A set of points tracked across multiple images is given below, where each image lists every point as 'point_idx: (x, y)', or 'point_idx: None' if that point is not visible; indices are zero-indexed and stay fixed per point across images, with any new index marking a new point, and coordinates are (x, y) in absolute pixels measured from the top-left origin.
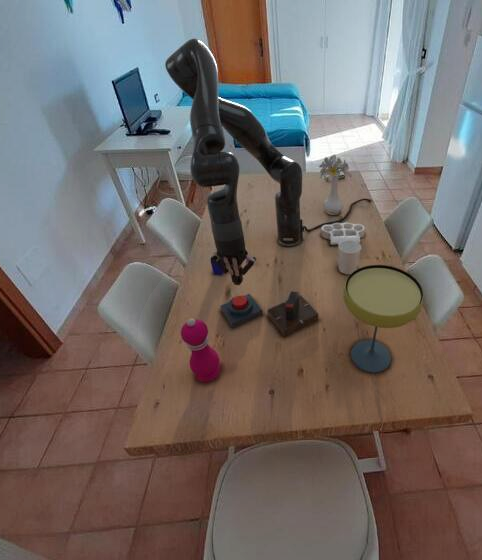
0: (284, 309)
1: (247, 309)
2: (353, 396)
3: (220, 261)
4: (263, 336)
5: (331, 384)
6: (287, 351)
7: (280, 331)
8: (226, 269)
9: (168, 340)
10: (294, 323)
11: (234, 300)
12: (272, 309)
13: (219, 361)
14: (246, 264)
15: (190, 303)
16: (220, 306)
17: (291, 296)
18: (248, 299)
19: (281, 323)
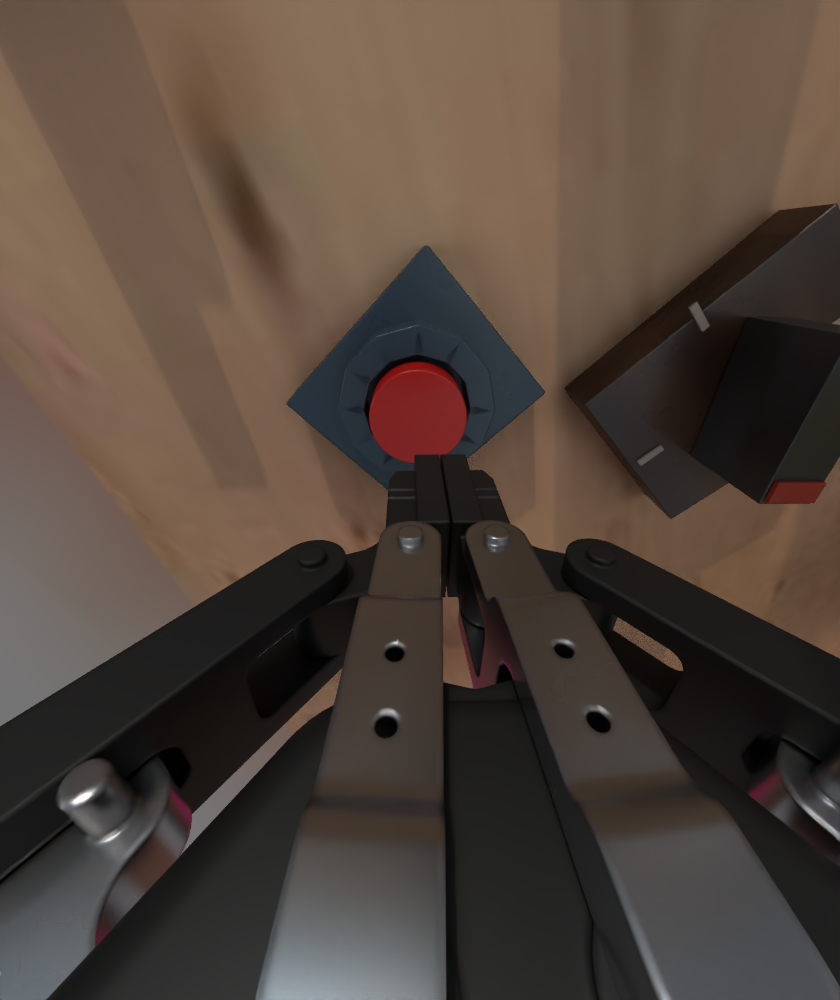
0: (690, 384)
1: (476, 449)
2: (829, 637)
3: (201, 754)
4: (553, 504)
5: (778, 621)
6: (653, 548)
7: (633, 477)
8: (341, 658)
9: (184, 582)
10: None
11: (385, 427)
12: (615, 397)
13: (443, 682)
14: (680, 659)
15: (83, 369)
16: (289, 405)
17: (834, 399)
18: (459, 363)
19: (663, 484)
